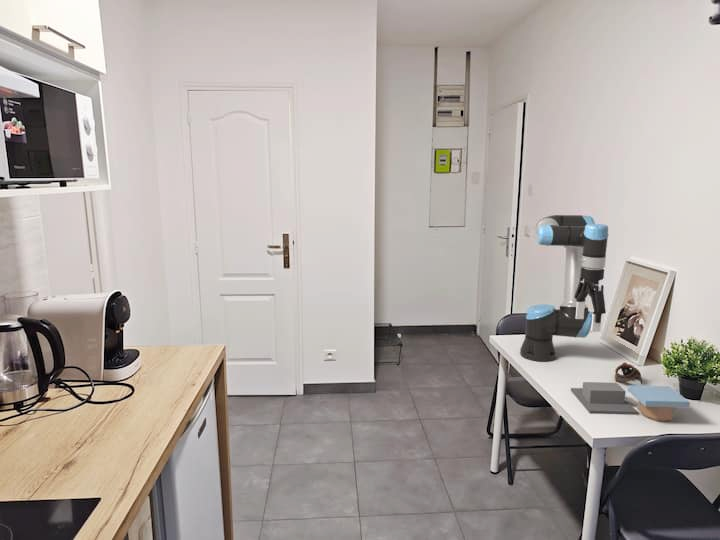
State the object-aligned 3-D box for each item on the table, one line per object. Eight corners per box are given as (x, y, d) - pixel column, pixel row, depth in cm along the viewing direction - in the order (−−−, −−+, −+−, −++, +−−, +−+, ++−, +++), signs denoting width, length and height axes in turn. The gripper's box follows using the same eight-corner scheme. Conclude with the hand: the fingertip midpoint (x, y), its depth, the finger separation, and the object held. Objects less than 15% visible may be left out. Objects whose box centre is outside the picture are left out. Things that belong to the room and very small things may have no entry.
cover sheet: (627, 390, 171) (628, 385, 171) (668, 391, 170) (669, 386, 170) (645, 406, 159) (645, 400, 159) (689, 407, 159) (690, 402, 158)
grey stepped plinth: (570, 390, 185) (572, 375, 184) (613, 391, 184) (615, 376, 183) (589, 413, 167) (591, 397, 166) (637, 414, 166) (639, 398, 165)
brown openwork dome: (648, 388, 187) (641, 373, 185) (622, 396, 191) (616, 380, 188) (636, 369, 198) (630, 354, 195) (612, 376, 201) (606, 362, 198)
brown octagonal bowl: (633, 407, 171) (635, 391, 170) (662, 408, 171) (664, 392, 169) (648, 421, 161) (650, 405, 160) (679, 422, 161) (681, 406, 160)
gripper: (568, 260, 184) (563, 314, 189) (597, 275, 160) (591, 336, 164) (588, 260, 184) (583, 314, 188) (620, 275, 159) (614, 336, 164)
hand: (587, 324), depth 176 cm, fingers open, 13 cm apart
